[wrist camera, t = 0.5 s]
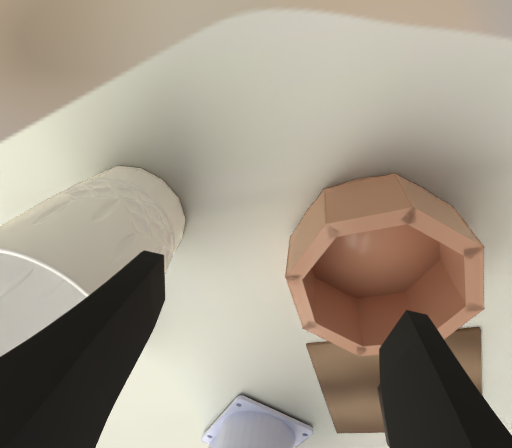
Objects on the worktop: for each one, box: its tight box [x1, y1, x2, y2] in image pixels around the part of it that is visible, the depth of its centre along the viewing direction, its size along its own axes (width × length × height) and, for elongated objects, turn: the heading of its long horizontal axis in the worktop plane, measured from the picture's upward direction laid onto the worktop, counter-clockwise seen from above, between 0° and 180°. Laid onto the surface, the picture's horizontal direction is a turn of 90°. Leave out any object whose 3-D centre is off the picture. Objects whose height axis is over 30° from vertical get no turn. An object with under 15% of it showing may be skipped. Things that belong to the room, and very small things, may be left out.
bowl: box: [285, 173, 485, 357], centre depth 19 cm, size 9×9×4 cm
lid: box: [306, 327, 481, 447], centre depth 26 cm, size 12×12×5 cm
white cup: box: [0, 166, 186, 356], centre depth 18 cm, size 8×8×10 cm
